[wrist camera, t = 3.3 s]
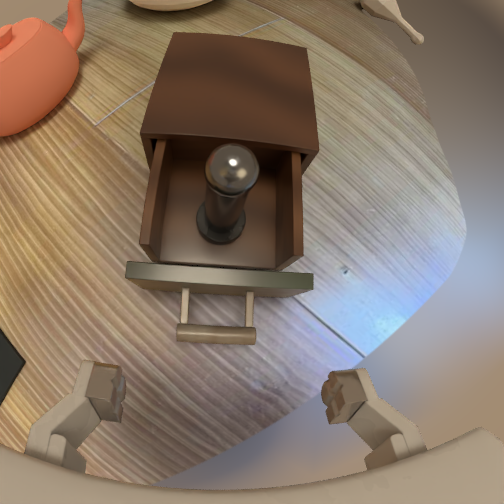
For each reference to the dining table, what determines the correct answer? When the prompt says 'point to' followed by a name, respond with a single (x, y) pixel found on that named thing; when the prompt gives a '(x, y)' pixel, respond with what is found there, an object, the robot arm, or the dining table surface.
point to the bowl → (169, 4)
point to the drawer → (230, 255)
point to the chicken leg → (391, 16)
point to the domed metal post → (226, 192)
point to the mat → (8, 365)
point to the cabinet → (233, 95)
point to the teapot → (37, 68)
